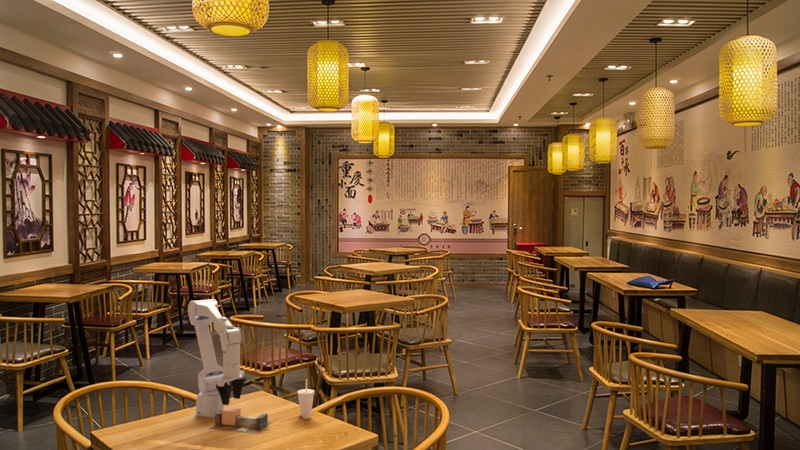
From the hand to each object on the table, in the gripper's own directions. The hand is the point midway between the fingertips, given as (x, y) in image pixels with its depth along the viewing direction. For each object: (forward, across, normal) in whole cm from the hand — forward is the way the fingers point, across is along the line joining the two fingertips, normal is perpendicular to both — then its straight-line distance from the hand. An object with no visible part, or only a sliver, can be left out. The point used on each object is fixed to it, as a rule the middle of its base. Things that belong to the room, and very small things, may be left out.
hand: (231, 401), depth 213 cm
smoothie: (+9, +17, -21) cm, 29 cm away
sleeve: (+8, 0, 0) cm, 8 cm away
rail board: (+9, 0, -4) cm, 10 cm away
